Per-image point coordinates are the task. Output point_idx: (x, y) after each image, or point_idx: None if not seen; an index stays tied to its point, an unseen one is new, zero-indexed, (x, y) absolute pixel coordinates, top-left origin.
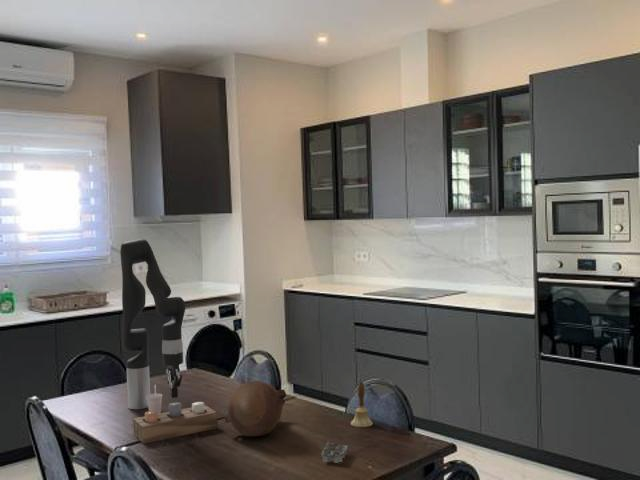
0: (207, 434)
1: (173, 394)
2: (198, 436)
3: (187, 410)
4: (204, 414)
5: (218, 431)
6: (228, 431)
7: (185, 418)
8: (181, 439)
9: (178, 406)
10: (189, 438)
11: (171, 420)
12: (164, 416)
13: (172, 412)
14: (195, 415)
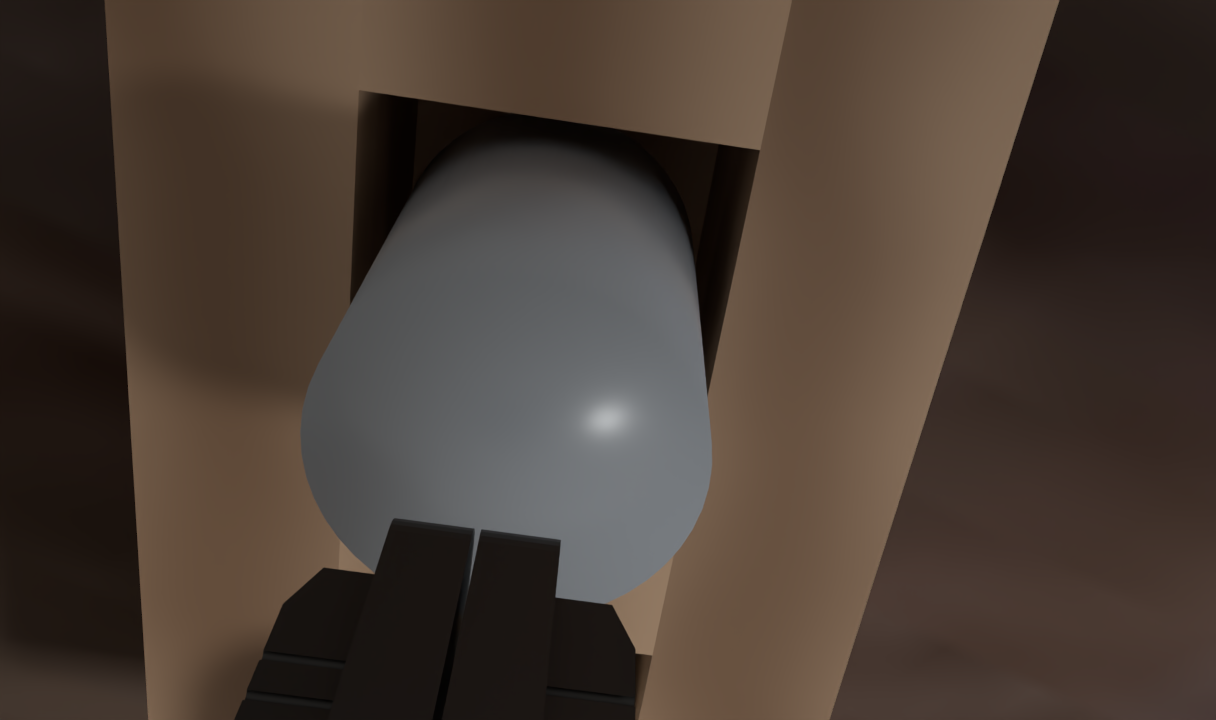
0: (47, 454)
1: (295, 636)
2: (31, 313)
3: (682, 637)
4: (161, 715)
5: (90, 617)
6: (7, 697)
7: (127, 349)
8: (40, 18)
9: (311, 452)
10: (12, 155)
11: (180, 23)
12: (662, 52)
13: (410, 227)
14: (208, 584)
